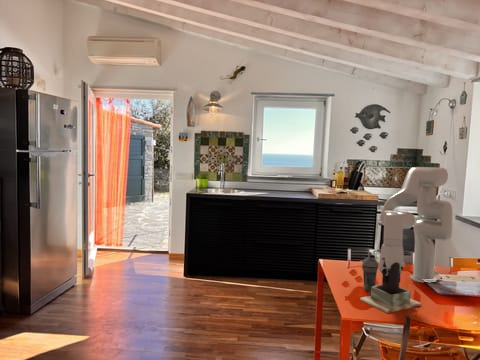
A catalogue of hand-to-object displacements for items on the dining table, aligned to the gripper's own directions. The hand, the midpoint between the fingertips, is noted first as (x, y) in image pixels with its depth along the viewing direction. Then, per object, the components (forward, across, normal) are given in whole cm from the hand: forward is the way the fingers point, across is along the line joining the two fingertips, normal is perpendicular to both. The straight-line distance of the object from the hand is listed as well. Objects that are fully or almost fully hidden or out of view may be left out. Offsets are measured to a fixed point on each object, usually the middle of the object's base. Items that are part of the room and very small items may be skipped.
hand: (391, 282), depth 159 cm
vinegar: (+7, 0, 0) cm, 7 cm away
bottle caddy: (+9, 0, 0) cm, 9 cm away
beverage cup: (+9, -4, -16) cm, 19 cm away
